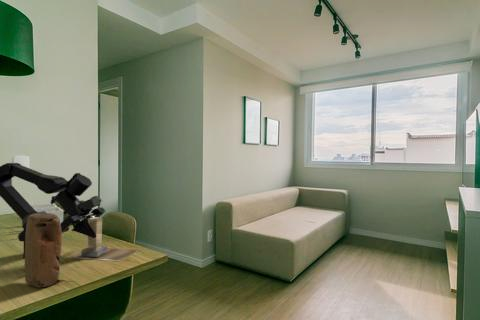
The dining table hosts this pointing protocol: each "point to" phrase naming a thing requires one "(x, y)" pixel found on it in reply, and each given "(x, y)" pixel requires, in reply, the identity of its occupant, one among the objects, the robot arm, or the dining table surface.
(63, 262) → the dining table surface
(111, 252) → the plank
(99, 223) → the wooden post with base
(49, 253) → the block
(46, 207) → the storage container
